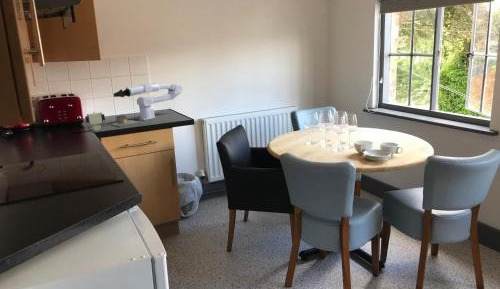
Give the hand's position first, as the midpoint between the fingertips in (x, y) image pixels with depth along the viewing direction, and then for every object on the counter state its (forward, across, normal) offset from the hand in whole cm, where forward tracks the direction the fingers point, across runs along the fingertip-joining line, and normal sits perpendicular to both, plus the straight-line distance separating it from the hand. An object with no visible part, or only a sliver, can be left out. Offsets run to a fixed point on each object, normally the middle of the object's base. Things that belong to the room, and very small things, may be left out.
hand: (116, 94), depth 277 cm
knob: (-3, -9, +20) cm, 22 cm away
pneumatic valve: (+19, +1, +20) cm, 28 cm away
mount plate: (-1, +1, +21) cm, 21 cm away
